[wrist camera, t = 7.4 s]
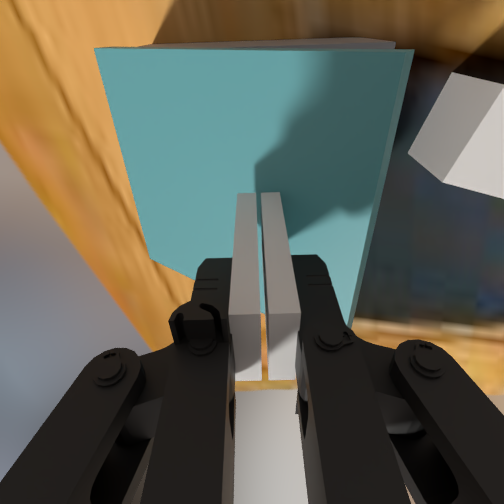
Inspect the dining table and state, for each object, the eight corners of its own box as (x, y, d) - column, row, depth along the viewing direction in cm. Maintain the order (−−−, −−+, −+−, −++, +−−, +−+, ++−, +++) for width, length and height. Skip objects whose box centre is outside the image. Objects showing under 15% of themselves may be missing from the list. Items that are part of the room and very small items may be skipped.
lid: (415, 49, 9) (405, 52, 8) (348, 337, 16) (341, 351, 16) (111, 46, 16) (93, 48, 15) (161, 251, 23) (150, 258, 22)
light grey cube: (406, 152, 26) (441, 182, 21) (451, 71, 23) (504, 84, 18) (471, 170, 27) (519, 203, 22) (523, 95, 23) (593, 113, 19)
